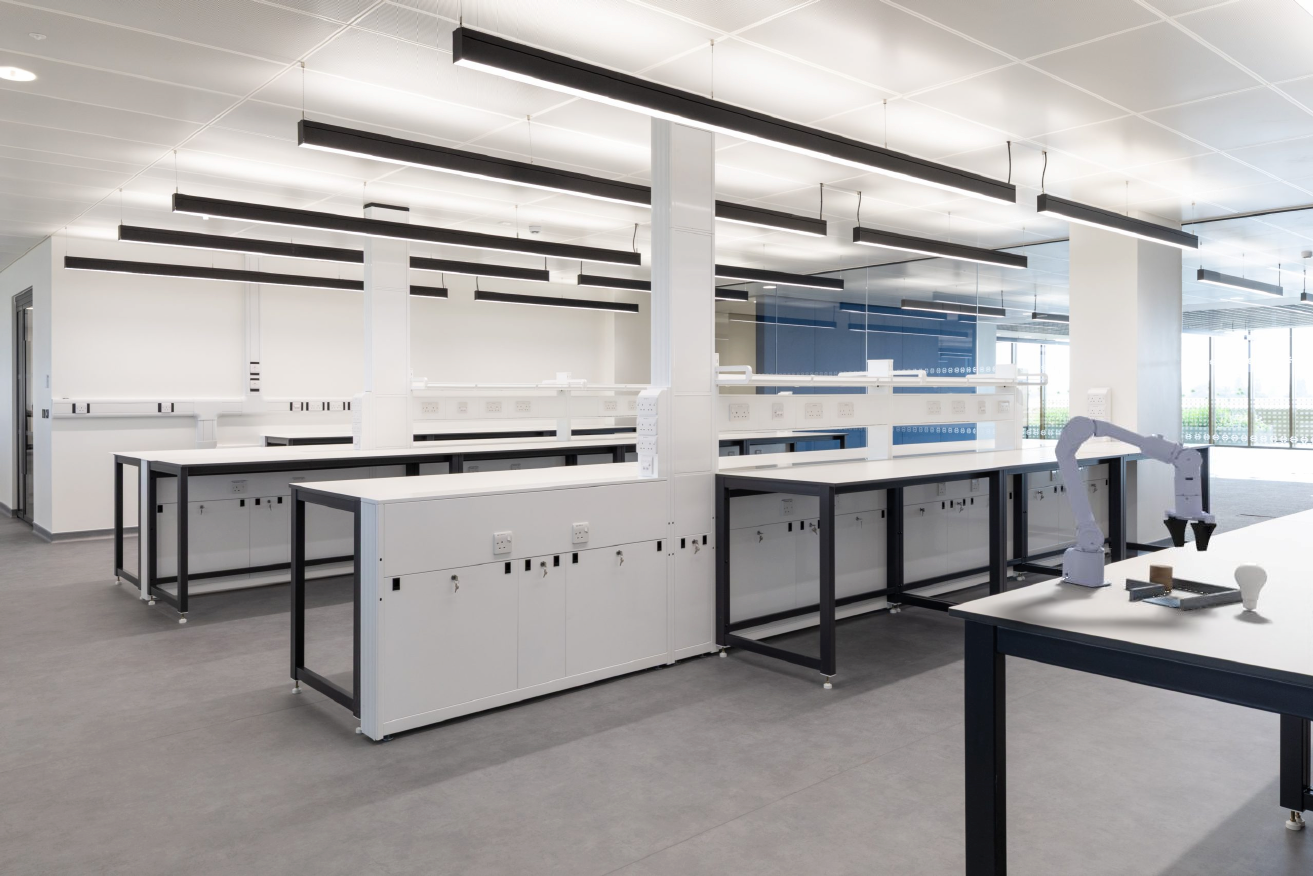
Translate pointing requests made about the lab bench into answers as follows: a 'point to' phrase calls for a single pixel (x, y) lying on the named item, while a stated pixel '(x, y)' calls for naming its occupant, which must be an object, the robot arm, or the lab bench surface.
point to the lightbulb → (1250, 583)
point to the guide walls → (1214, 596)
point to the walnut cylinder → (1161, 575)
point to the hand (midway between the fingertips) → (1190, 549)
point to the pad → (1164, 601)
